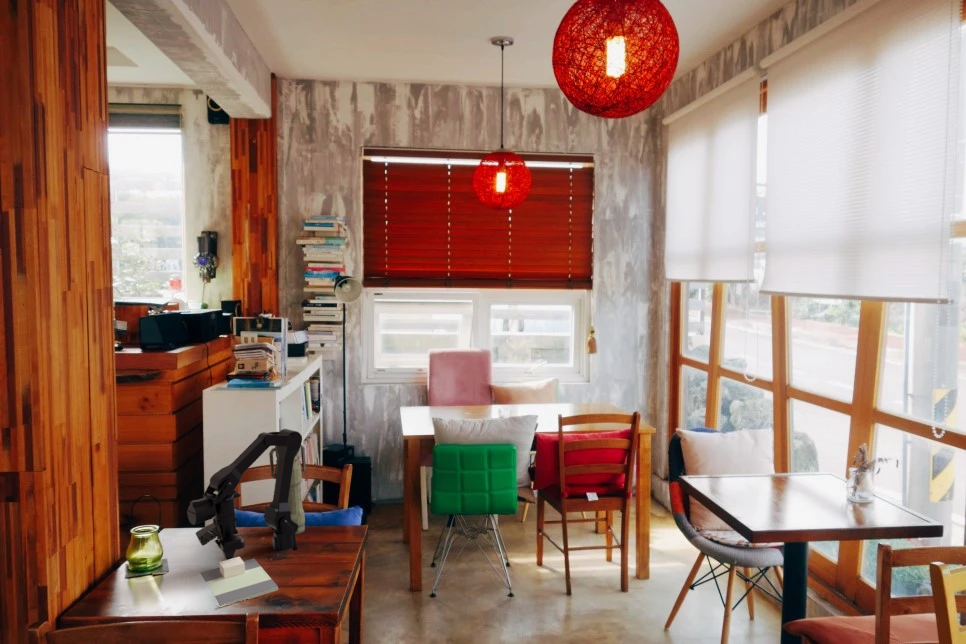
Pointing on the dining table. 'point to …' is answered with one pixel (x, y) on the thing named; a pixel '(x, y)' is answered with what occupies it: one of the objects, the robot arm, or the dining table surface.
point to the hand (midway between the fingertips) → (228, 563)
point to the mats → (242, 591)
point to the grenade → (293, 487)
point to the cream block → (232, 567)
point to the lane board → (240, 583)
